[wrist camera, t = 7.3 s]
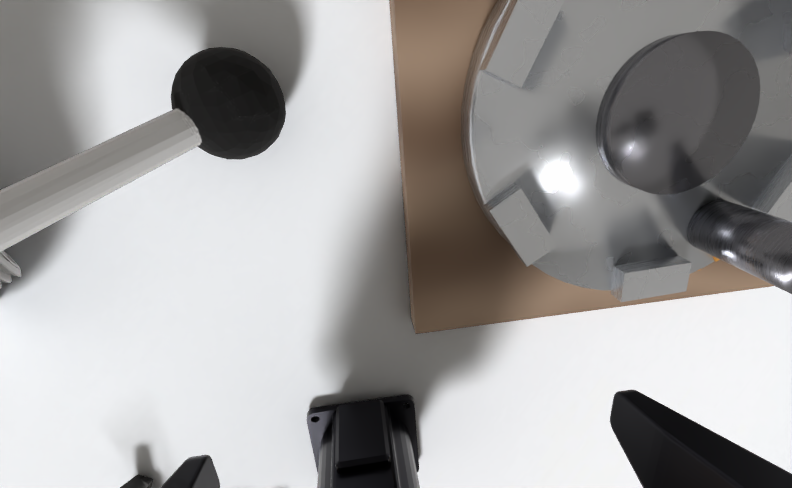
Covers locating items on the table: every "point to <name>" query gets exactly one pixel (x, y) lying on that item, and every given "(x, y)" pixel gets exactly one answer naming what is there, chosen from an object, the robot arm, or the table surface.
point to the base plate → (455, 201)
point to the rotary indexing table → (635, 138)
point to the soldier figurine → (139, 482)
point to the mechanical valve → (154, 143)
